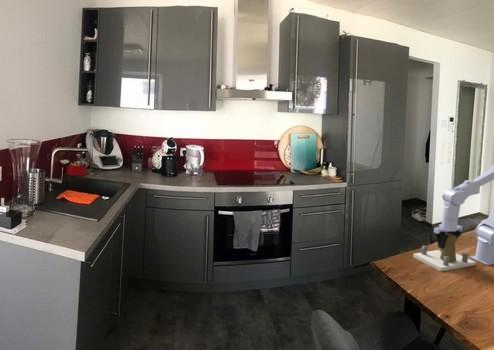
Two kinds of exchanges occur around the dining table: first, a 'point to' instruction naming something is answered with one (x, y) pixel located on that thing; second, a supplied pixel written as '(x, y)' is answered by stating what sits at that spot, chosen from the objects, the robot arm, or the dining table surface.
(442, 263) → the peg board
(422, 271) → the dining table surface
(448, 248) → the olive rounded cylinder
